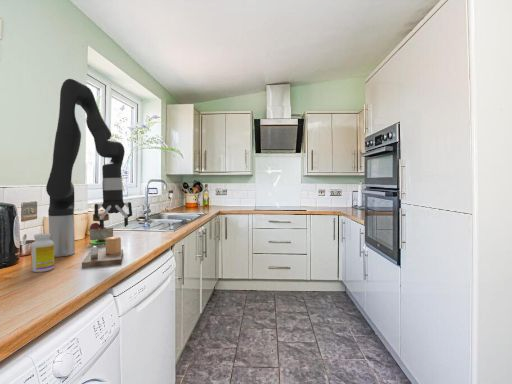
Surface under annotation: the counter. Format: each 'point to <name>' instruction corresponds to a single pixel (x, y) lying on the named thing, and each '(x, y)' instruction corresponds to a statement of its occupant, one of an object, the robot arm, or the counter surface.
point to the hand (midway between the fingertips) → (114, 227)
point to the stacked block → (100, 231)
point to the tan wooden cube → (113, 245)
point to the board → (103, 259)
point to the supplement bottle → (42, 253)
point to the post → (94, 252)
